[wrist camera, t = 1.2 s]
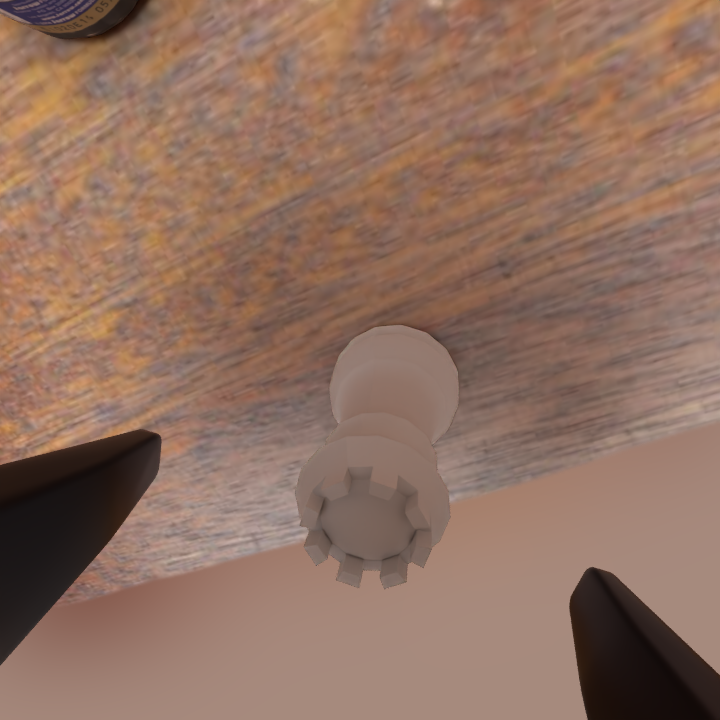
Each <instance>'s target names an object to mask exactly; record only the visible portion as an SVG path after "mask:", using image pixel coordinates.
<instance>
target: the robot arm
mask: <svg viewBox="0 0 720 720" xmlns="http://www.w3.org/2000/svg"><path fill="white" fill-rule="evenodd" d="M160 453H161V436H160V435H159V434H157V433H154V432H150V431H147V430H143V429H140V430H136V431H132V432H128V433H124V434H120V435H116V436H112V437H108V438H104V439H100V440H97V441H93V442H89V443H85V444H81V445H77V446H73V447H69V448H65V449H61V450H57V451H53V452H50V453H46V454H42V455H38V456H34V457H30V458H26V459H22V460H18V461H14V462H10V463H6V464H3V465H0V665H1V664H2V663H3V662H4V661H5V660H6V658H7V657H8V656H9V655H10V654H11V653H12V652H13V650H14V649H15V648H16V647H17V646H18V645H19V644H20V642H21V641H22V640H23V639H24V638H25V637H26V636H27V635H28V633H29V632H30V631H31V630H32V629H33V628H34V627H35V625H36V624H37V623H38V622H39V621H40V620H41V619H42V617H43V616H44V615H45V614H46V613H47V612H48V611H49V610H50V608H51V607H52V606H53V605H54V604H55V603H56V602H57V600H58V599H59V598H60V597H61V596H62V595H63V594H64V592H65V591H66V590H67V589H68V588H69V587H70V586H71V585H72V583H73V582H74V581H75V580H76V579H77V578H78V577H79V575H80V574H81V573H82V572H83V571H84V570H85V569H86V567H87V566H88V565H89V564H90V563H91V562H92V561H93V560H94V558H95V557H96V556H97V555H98V554H99V553H100V552H101V550H102V549H103V548H104V547H105V546H106V544H107V543H108V542H109V541H110V540H111V538H112V537H113V536H114V534H115V533H116V532H117V530H118V529H119V528H120V526H121V525H122V524H123V522H124V521H125V519H126V518H127V517H128V515H129V514H130V512H131V511H132V510H133V508H134V507H135V505H136V504H137V503H138V501H139V500H140V498H141V497H142V496H143V494H144V493H145V491H146V490H147V489H148V487H149V486H150V484H151V483H152V482H153V480H154V479H155V477H156V475H157V473H158V470H159V464H160ZM569 607H570V616H571V623H572V629H573V637H574V644H575V651H576V658H577V666H578V672H579V680H580V686H581V691H582V696H583V701H584V706H585V710H586V714H587V718H588V720H720V675H719V674H718V673H717V672H716V671H715V670H714V669H713V668H712V667H710V665H708V664H707V663H706V662H705V661H704V660H703V659H702V658H701V657H700V656H699V655H698V654H697V653H696V652H695V651H693V649H692V648H691V647H689V645H687V644H686V643H685V642H684V641H683V640H682V639H681V638H680V637H679V636H678V635H677V634H676V633H675V632H674V631H673V630H672V629H671V628H669V626H667V625H666V624H665V623H664V622H663V621H662V620H661V619H660V618H659V617H658V616H657V615H656V614H655V613H654V612H653V611H652V610H651V609H649V607H648V606H646V605H645V604H644V603H643V602H642V601H641V600H640V599H639V598H638V597H637V596H636V595H635V594H634V593H633V592H632V591H631V590H630V589H629V588H627V587H626V586H625V585H624V584H623V583H622V582H621V581H620V580H619V579H618V578H617V577H616V576H615V575H614V574H612V573H610V572H607V571H604V570H601V569H597V568H594V567H591V568H589V569H587V570H586V571H585V572H584V574H583V576H582V578H581V580H580V581H579V583H578V585H577V586H576V588H575V590H574V592H573V594H572V596H571V599H570V606H569Z"/></svg>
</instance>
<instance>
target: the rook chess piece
mask: <svg viewBox="0 0 720 720" xmlns="http://www.w3.org/2000/svg"><path fill="white" fill-rule="evenodd" d="M329 392H330V399H331V405H332V412H333V416H334V417H335V419H336V421H337V422H338V424H339V425H338V426H337V427H336V428H335V430H334V431H333V432H332V433H331V434H330V435H329V436H328V437H327V440H326V444H325V446H323V447H321V448H319V449H318V450H317V451H316V452H315V454H314V455H313V456H312V457H311V458H310V459H309V460H308V461H307V462H306V464H305V465H304V466H303V467H302V468H301V472H300V476H299V479H298V483H297V487H296V491H295V494H296V500H297V505H298V510H299V515H300V518H301V523H300V526H302V527H307V529H308V530H309V534H308V536H307V539H306V542H305V544H304V548H305V550H306V551H307V553H308V554H309V556H310V557H311V558H312V560H313V562H314V563H315V564H316V566H317V565H318V564H320V563H322V562H323V561H325V560H327V558H328V554H329V555H331V556H332V557H333V558H335V559H336V560H338V561H339V562H340V566H339V570H338V574H337V578H336V580H337V581H340V582H343V583H346V584H349V585H351V586H354V587H358V588H359V587H360V582H361V577H362V572H363V570H371V571H372V570H373V571H381V572H380V579H381V582H382V585H383V587H384V589H386V588H389V587H392V586H396V585H399V584H402V583H405V582H407V566H408V564H409V563H411V562H413V563H414V564H416V565H419V566H420V567H422V568H424V566H425V563H426V561H427V559H428V557H429V554H430V552H431V550H432V547H433V546H434V545H436V544H437V543H438V542H439V541H440V540H441V537H442V535H443V533H444V530H445V528H446V526H447V524H448V521H449V519H450V505H449V491H448V489H447V487H446V485H445V484H444V482H443V480H442V478H441V476H440V475H439V473H438V469H437V456H436V452H435V450H434V448H433V447H432V445H433V444H434V443H435V442H436V441H437V440H438V439H439V438H440V437H442V436H443V435H444V434H445V433H446V432H447V431H448V429H449V427H450V425H451V423H452V420H453V418H454V415H455V413H456V410H457V408H458V405H459V403H458V396H459V384H458V370H457V368H456V366H455V364H454V363H453V361H452V359H451V357H450V355H449V353H448V351H447V349H446V348H445V347H443V346H442V345H441V344H440V343H439V342H437V341H436V340H435V339H434V338H433V337H431V336H430V335H429V334H428V333H426V332H423V331H420V330H417V329H413V328H410V327H407V326H404V325H393V326H380V327H374V328H372V329H370V330H368V331H367V332H365V333H363V334H361V335H359V336H357V337H355V338H353V339H352V341H351V342H350V343H349V344H348V345H347V347H346V348H345V349H344V350H343V351H342V353H341V354H340V355H339V356H338V360H337V364H336V365H335V368H334V372H333V375H332V379H331V382H330V386H329Z"/></svg>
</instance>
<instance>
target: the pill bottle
mask: <svg viewBox="0 0 720 720" xmlns="http://www.w3.org/2000/svg"><path fill="white" fill-rule="evenodd" d="M137 1H138V0H0V14H2V15H4V16H6V17H9V18H11V19H13V20H15V21H18V22H20V23H22V24H24V25H27V26H29V27H31V28H33V29H36V30H38V31H40V32H43V33H45V34H48V35H51V36H53V37H57V38H62V39H71V38H89V37H92V36H95V35H100V34H102V33H104V32H106V31H107V30H109V29H111V28H112V27H114V26H115V25H117V24H118V23H120V22H121V21H123V19H124V18H125V17H126V16H127V15H128V14H129V13H130V12H131V11H132V9H133V8H134V6H135V4H136V2H137Z"/></svg>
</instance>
